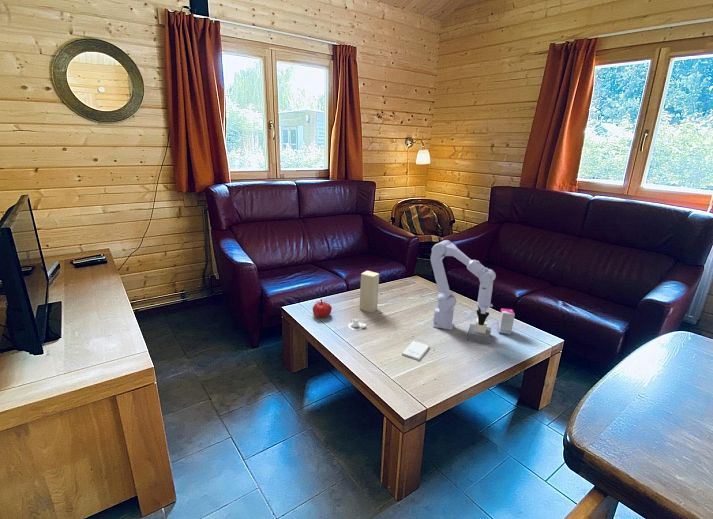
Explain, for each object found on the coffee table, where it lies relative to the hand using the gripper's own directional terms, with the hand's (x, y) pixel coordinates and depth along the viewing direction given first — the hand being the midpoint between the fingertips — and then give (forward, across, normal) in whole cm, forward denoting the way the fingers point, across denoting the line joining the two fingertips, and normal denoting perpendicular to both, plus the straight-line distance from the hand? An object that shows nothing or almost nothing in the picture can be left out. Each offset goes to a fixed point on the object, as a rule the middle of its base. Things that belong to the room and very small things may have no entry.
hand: (481, 321), depth 183 cm
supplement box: (+9, +10, -12) cm, 18 cm away
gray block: (+9, 0, 0) cm, 9 cm away
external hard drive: (+9, -24, +27) cm, 37 cm away
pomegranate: (+9, -6, +80) cm, 81 cm away
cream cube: (+5, 0, 0) cm, 5 cm away
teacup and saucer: (+9, -14, +58) cm, 60 cm away
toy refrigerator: (+9, +11, +59) cm, 61 cm away
